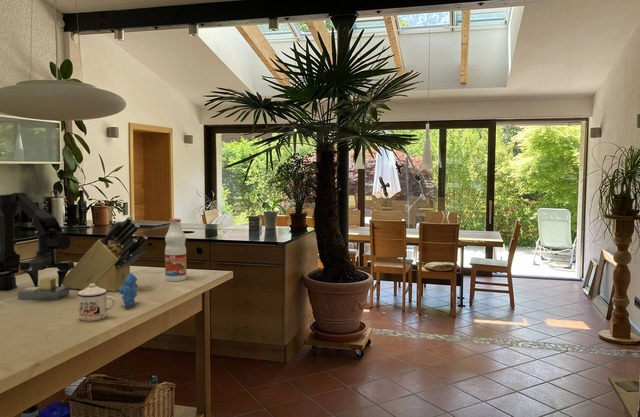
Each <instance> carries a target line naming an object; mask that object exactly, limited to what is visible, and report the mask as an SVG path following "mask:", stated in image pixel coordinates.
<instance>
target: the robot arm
mask: <svg viewBox="0 0 640 417" xmlns="http://www.w3.org/2000/svg"><path fill="white" fill-rule="evenodd" d="M19 208H20V209H21V210H22V211H23V212H24V213H25V214H26V215H27V216H28V217H29V218H30V219H31V224H32V226H33V227H34V228H35V230H36V231H37V232H36V233H35V234H34V236H35V237H37V245H38V251H36V256H35V257H33V259H31V260H26V261H23V262H21V255H20V254H19V253H17V252H16V250H15V230H14V228H15V227H14V226H15V225H14V224H15V223H14V221H15V220H14V218H15V217H14V216H15V215H16V213H17V211H18V209H19ZM66 234H67V233H66V231H63V228H62V226H60V223H59V221H58V220H57V217H56V216H54V215H53V214H52V213H50V212H46V211H44V210H42V209H41V208H40V207H39V206H38V205H37V204H36V203H35V202H34V201H33V200H32V199H31V198H30V197H29V196H28V194H27V193H26V192H12V193H10V194H0V291H10V290H13V289H16V288H18V286H17V278H16V277H15V274H18V273H19V270H20V271H23V273H26V274H28V275H29V277H30V279H31V281H32V283H33V286H35V287H37V286H39V285H38V284H39V271H43V270H45V269H47V268H48V269H54V268H55V269H56V268H57V270H56V273H57V275H58V276H57V277H58V278H57V280H58V282H57V286H59V287H61V286H63V285H62V283H63V280H64V278H65V276H66V275H67V274H68V273H69V272H70V271H71V269H72V268H74V266H75V263H74V261H73V260H62V261H60V262H58V259H56V253H57V250H60V251H61V250H63V251H65V250H67V249H69V248H70V246H71V242H72V241H71V238H70V237H69V236H68V235H66Z"/></svg>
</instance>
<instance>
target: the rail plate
mask: <svg viewBox="0 0 640 417" xmlns="http://www.w3.org/2000/svg"><path fill="white" fill-rule="evenodd" d="M70 291H71V290H70V289H69V286H63V285H61V287H59V286H58V285H56V289H54V290H52V291H40V285H38V286H37V287H35V286H34V285H31V286H28V287H27V288H23V289H22V290H20V291H18V292H17V298H18V300H19V301H20V300H31V301H32V300H33V301H35V300H38V301H39V300H41V301H42V300H43V301H45V300H46V301H49V300H53V301H54V300H55V301H56V300H59V299H62V298H63V297H65V296H68V295H69V294H70Z"/></svg>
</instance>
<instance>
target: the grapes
mask: <svg viewBox="0 0 640 417" xmlns="http://www.w3.org/2000/svg"><path fill="white" fill-rule="evenodd" d="M137 281H138V278H137V276H136V275H135V274H134V273H133V272H130V274H128V276H127V277H126V279H125V280H124V283H125V285H124V286H121V287H120V288H119V290H117V291H118V293H119V294H120V295H122V297H121V300H122V301H123V305H124V306H125V307H126V308H129V307H130V306H132V305H134V304H135V303H136V300H135V298H137V296H138V294H137V290H138V287H139V285H138V284H137Z"/></svg>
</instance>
